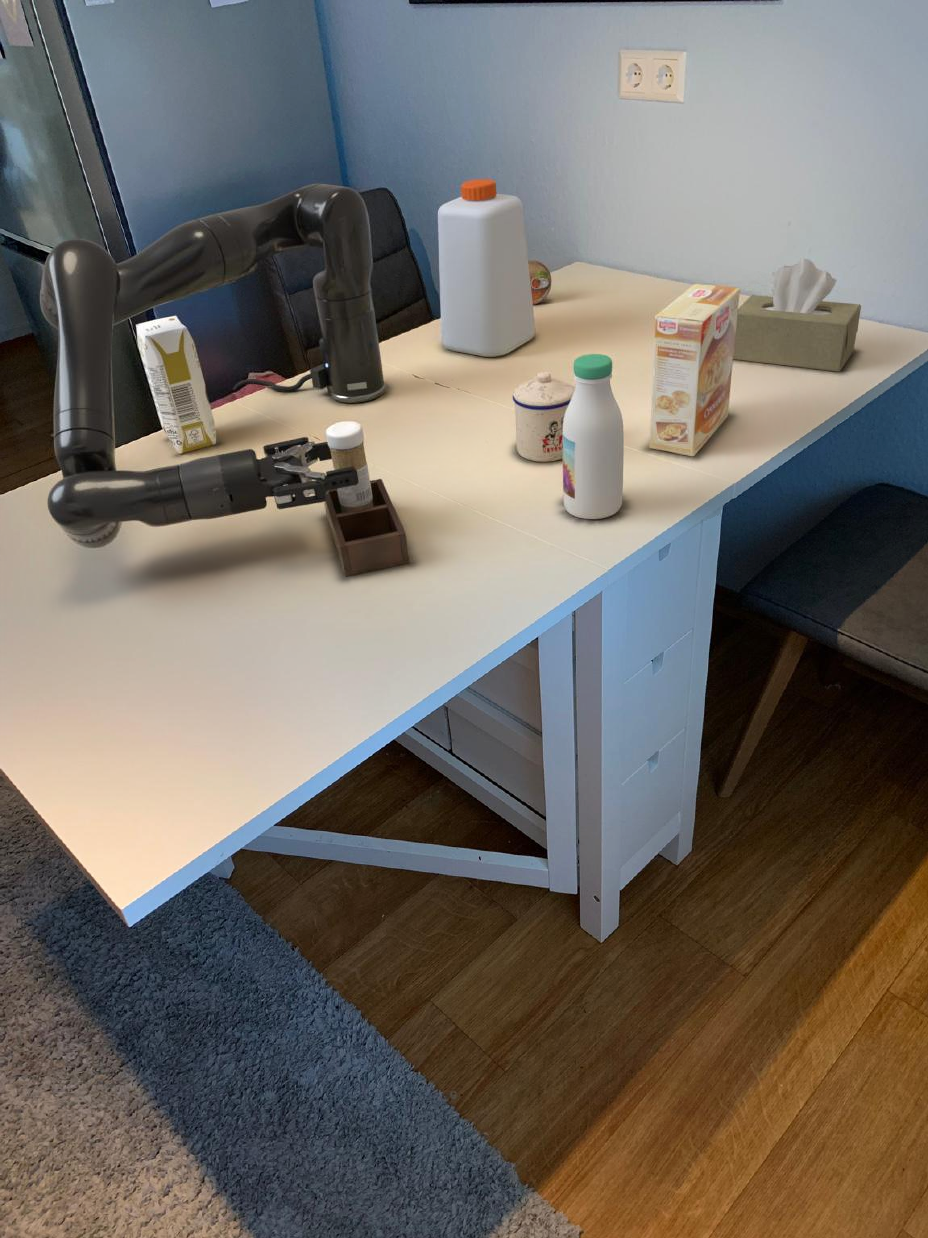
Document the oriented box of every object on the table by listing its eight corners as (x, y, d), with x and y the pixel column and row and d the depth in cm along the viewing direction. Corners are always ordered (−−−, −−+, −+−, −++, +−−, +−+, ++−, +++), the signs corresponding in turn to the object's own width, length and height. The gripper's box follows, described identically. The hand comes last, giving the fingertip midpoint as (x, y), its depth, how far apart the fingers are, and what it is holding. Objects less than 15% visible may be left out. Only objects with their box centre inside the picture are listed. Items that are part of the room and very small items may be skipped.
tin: (479, 306, 194) (476, 264, 189) (481, 301, 196) (478, 260, 191) (551, 304, 191) (550, 262, 186) (552, 299, 194) (551, 257, 189)
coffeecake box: (694, 457, 132) (704, 320, 120) (647, 449, 135) (652, 314, 124) (730, 416, 142) (742, 286, 130) (685, 409, 145) (693, 281, 134)
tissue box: (855, 351, 158) (871, 255, 149) (841, 372, 152) (857, 273, 142) (745, 339, 167) (754, 247, 157) (727, 358, 160) (736, 264, 151)
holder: (345, 576, 114) (339, 546, 111) (327, 518, 126) (321, 489, 124) (409, 562, 115) (405, 533, 113) (385, 506, 128) (381, 478, 125)
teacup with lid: (548, 469, 132) (546, 391, 126) (502, 452, 138) (498, 376, 131) (602, 439, 139) (602, 363, 132) (556, 424, 144) (554, 351, 138)
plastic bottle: (479, 324, 185) (468, 170, 168) (544, 334, 177) (539, 174, 161) (433, 349, 175) (416, 189, 159) (499, 361, 167) (489, 194, 151)
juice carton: (175, 457, 146) (141, 338, 134) (163, 438, 152) (129, 323, 141) (222, 445, 148) (192, 326, 137) (208, 426, 154) (178, 312, 143)
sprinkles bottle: (369, 509, 126) (354, 416, 118) (381, 524, 122) (367, 429, 114) (337, 519, 124) (320, 425, 116) (349, 534, 121) (332, 438, 113)
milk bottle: (629, 496, 124) (633, 350, 113) (612, 524, 119) (614, 374, 107) (574, 488, 127) (573, 345, 116) (555, 516, 122) (551, 368, 110)
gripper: (226, 487, 123) (347, 464, 126) (233, 539, 112) (365, 512, 115) (213, 434, 119) (338, 412, 121) (219, 483, 107) (356, 457, 110)
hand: (351, 460), depth 118 cm, fingers open, 8 cm apart
